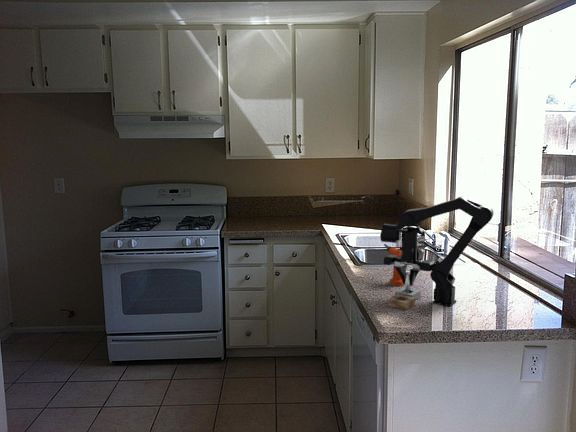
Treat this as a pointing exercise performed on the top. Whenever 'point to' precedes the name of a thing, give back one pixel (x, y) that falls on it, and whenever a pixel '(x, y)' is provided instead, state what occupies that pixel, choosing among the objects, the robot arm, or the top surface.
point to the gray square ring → (413, 293)
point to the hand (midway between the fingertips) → (408, 285)
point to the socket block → (401, 301)
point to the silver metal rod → (407, 283)
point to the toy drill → (396, 277)
